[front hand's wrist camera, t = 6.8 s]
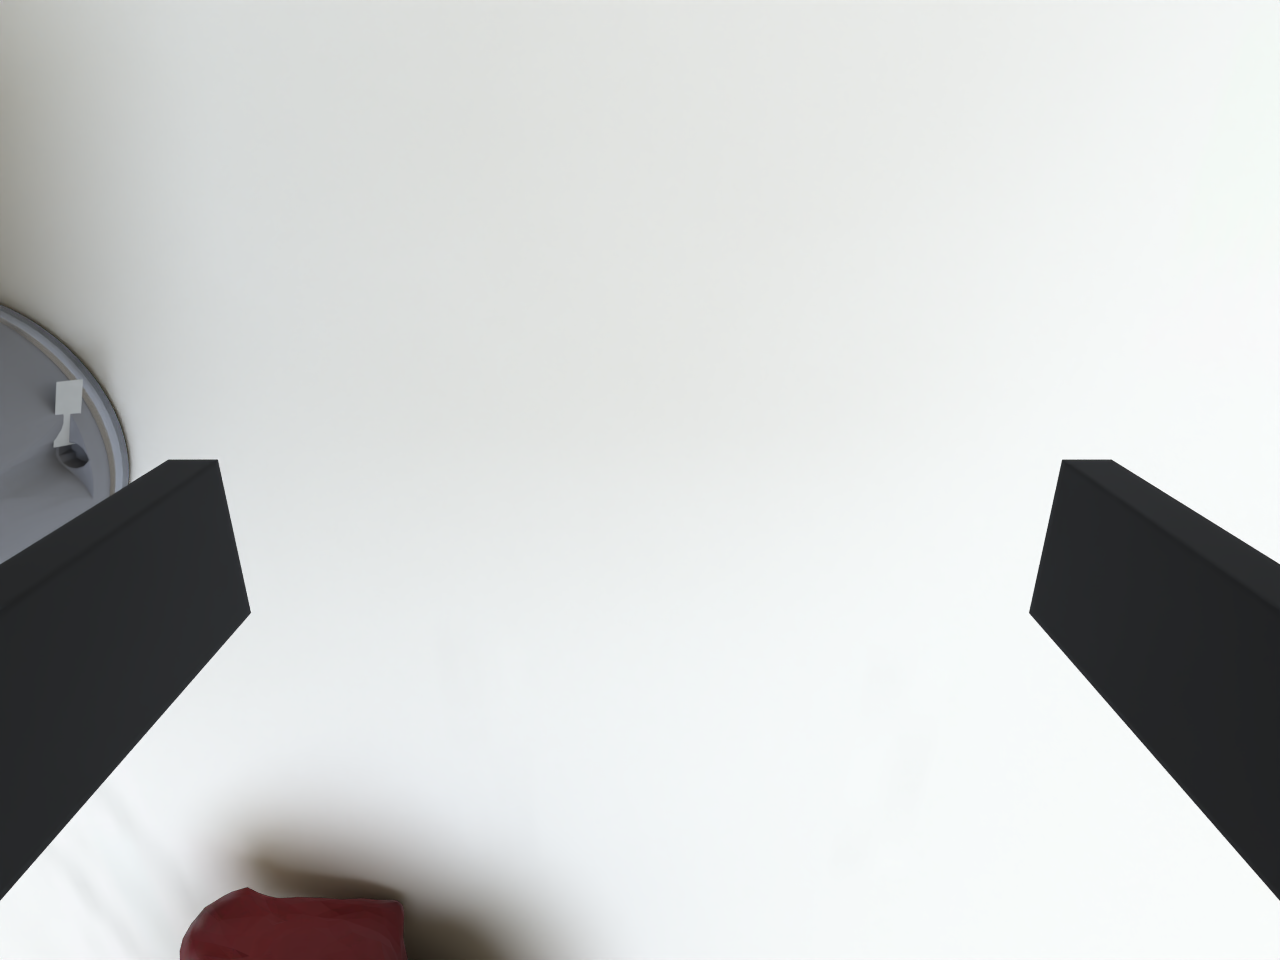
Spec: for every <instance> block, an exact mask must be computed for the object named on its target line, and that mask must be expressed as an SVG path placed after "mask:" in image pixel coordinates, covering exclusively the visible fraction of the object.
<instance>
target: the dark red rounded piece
mask: <svg viewBox="0 0 1280 960" xmlns="http://www.w3.org/2000/svg"><path fill="white" fill-rule="evenodd" d="M403 934H404V908H403V905H402V904H401V903H400V902H398V901H396V900H375V899H364V898H358V899H331V898H312V897H292V898H275V897H269V896H266V895H263V894H260V893H258V892H256V891H254V890H252V889H250V888H248V887H247V888H243V889H240V890H237V891H233V892H231V893H229V894H227V895H225V896H223V897H221V898H220V899H218V900H216V901H215V902H213V903H212V904H210V905H208V906H207V907H205V908H204V909H203V910H202V912H201V913H200V914H199V915H198V916H197V918H196V919H195V920H194V921H193V922H192V924H191V925H190V927H189V929H188V931H187V932H186V934H185V936H184V938H183V940H182V944H181V948H180V960H408V958H407V953H406V949H405V944H404V940H403Z"/></svg>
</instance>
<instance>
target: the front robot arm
mask: <svg viewBox="0 0 1280 960" xmlns="http://www.w3.org/2000/svg"><path fill="white" fill-rule="evenodd" d="M128 481H129V462H128V452H127V448H126V443H125V438H124V435H123V432H122V429H121V425H120V423H119V421H118V418H117V416H116V413H115V411H114V409H113V407H112V405H111V403H110V401H109V399H108V398H107V396H106V394H105V393H104V391H103V390H102V388H101V386H100V385H99V383H98V382H97V381H96V379H95V378H94V377H93V375H92V374H91V373H90V371H89V370H88V369H87V368H86V367H85V366H84V364H83V363H82V362H81V361H80V360H79V359H78V358H77V357H76V356H75V355H74V354H73V353H72V352H71V351H70V350H69V349H68V348H67V347H66V346H65V345H64V344H62V343H61V342H60V341H59V340H58V339H57V338H55V337H54V336H53V335H52V334H50V333H49V332H48V331H46V330H45V329H43V328H42V327H41V326H39V325H38V324H36V323H34V322H33V321H31V320H30V319H28V318H26V317H25V316H23V315H21V314H19V313H17V312H15V311H13V310H11V309H9V308H7V307H5V306H3V305H0V900H1V899H2V898H3V897H4V896H5V894H6V893H7V892H8V891H9V890H10V889H11V888H12V886H13V885H14V884H15V883H16V882H17V881H18V880H19V878H20V877H21V876H22V875H23V874H24V873H25V872H26V870H27V869H28V868H29V867H30V866H31V865H32V863H33V862H34V861H35V860H36V859H37V858H38V857H39V855H40V854H41V853H42V852H43V851H44V850H45V849H46V847H47V846H48V845H49V844H50V843H51V842H52V841H53V839H54V838H55V837H56V836H57V835H58V834H59V833H60V831H61V830H62V829H63V828H64V827H65V826H66V824H67V823H68V822H69V821H70V820H71V819H72V818H73V816H74V815H75V814H76V813H77V812H78V811H79V810H80V808H81V807H82V806H83V805H84V804H85V803H86V802H87V800H88V799H89V798H90V797H91V796H92V795H93V794H94V792H95V791H96V790H97V789H98V788H99V787H100V785H101V784H102V783H103V782H104V781H105V780H106V779H107V777H108V776H109V775H110V774H111V773H112V772H113V771H114V769H115V768H116V767H117V766H118V765H119V764H120V763H121V761H122V760H123V759H124V758H125V757H126V756H127V754H128V753H129V752H130V751H131V750H132V749H133V748H134V746H135V745H136V744H137V743H138V742H139V741H140V740H141V738H142V737H143V736H144V735H145V734H146V733H147V732H148V730H149V729H150V728H151V727H152V726H153V725H154V724H155V722H156V721H157V720H158V719H159V718H160V717H161V715H162V714H163V713H164V712H165V711H166V710H167V709H168V707H169V706H170V705H171V704H172V703H173V702H174V701H175V699H176V698H177V697H178V696H179V695H180V694H181V693H182V691H183V690H184V689H185V688H186V687H187V686H188V684H189V683H190V682H191V681H192V680H193V679H194V678H195V676H196V675H197V674H198V673H199V672H200V671H201V670H202V668H203V667H204V666H205V665H206V664H207V663H208V662H209V660H210V659H211V658H212V657H213V656H214V655H215V654H216V652H217V651H218V650H219V649H220V648H221V647H222V645H223V644H224V643H225V642H226V641H227V640H228V639H229V637H230V636H231V635H232V634H233V633H234V632H235V631H236V629H237V628H238V627H239V626H240V625H241V624H242V623H243V621H244V620H245V619H246V618H247V617H248V616H249V615H250V613H251V611H250V606H249V602H248V597H247V593H246V588H245V583H244V579H243V574H242V569H241V565H240V560H239V556H238V551H237V546H236V542H235V537H234V532H233V528H232V523H231V519H230V514H229V509H228V505H227V500H226V495H225V491H224V486H223V482H222V477H221V472H220V468H219V463H218V460H167V461H166V462H164V463H162V464H161V465H159V466H158V467H156V468H154V469H153V470H151V471H149V472H148V473H146V474H145V475H143V476H141V477H140V478H138V479H137V480H135V481H133V482H132V483H130V484H129V485H128ZM1029 613H1030V615H1031V616H1032V617H1033V618H1034V619H1035V620H1036V621H1037V623H1038V624H1039V625H1040V626H1041V627H1042V628H1043V629H1044V631H1045V632H1046V633H1047V634H1048V635H1049V636H1050V637H1051V639H1052V640H1053V641H1054V642H1055V643H1056V644H1057V645H1058V647H1059V648H1060V649H1061V650H1062V651H1063V652H1064V654H1065V655H1066V656H1067V657H1068V658H1069V659H1070V660H1071V662H1072V663H1073V664H1074V665H1075V666H1076V667H1077V668H1078V670H1079V671H1080V672H1081V673H1082V674H1083V675H1084V676H1085V678H1086V679H1087V680H1088V681H1089V682H1090V683H1091V684H1092V686H1093V687H1094V688H1095V689H1096V690H1097V691H1098V693H1099V694H1100V695H1101V696H1102V697H1103V698H1104V699H1105V701H1106V702H1107V703H1108V704H1109V705H1110V706H1111V707H1112V709H1113V710H1114V711H1115V712H1116V713H1117V714H1118V715H1119V717H1120V718H1121V719H1122V720H1123V721H1124V722H1125V724H1126V725H1127V726H1128V727H1129V728H1130V729H1131V730H1132V732H1133V733H1134V734H1135V735H1136V736H1137V737H1138V738H1139V740H1140V741H1141V742H1142V743H1143V744H1144V745H1145V746H1146V748H1147V749H1148V750H1149V751H1150V752H1151V753H1152V754H1153V756H1154V757H1155V758H1156V759H1157V760H1158V761H1159V763H1160V764H1161V765H1162V766H1163V767H1164V768H1165V769H1166V771H1167V772H1168V773H1169V774H1170V775H1171V776H1172V777H1173V779H1174V780H1175V781H1176V782H1177V783H1178V784H1179V785H1180V787H1181V788H1182V789H1183V790H1184V791H1185V792H1186V794H1187V795H1188V796H1189V797H1190V798H1191V799H1192V800H1193V802H1194V803H1195V804H1196V805H1197V806H1198V807H1199V808H1200V810H1201V811H1202V812H1203V813H1204V814H1205V815H1206V816H1207V818H1208V819H1209V820H1210V821H1211V822H1212V823H1213V824H1214V826H1215V827H1216V828H1217V829H1218V830H1219V831H1220V833H1221V834H1222V835H1223V836H1224V837H1225V838H1226V839H1227V841H1228V842H1229V843H1230V844H1231V845H1232V846H1233V847H1234V849H1235V850H1236V851H1237V852H1238V853H1239V854H1240V855H1241V857H1242V858H1243V859H1244V860H1245V861H1246V862H1247V863H1248V865H1249V866H1250V867H1251V868H1252V869H1253V870H1254V872H1255V873H1256V874H1257V875H1258V876H1259V877H1260V878H1261V880H1262V881H1263V882H1264V883H1265V884H1266V885H1267V886H1268V888H1269V889H1270V890H1271V891H1272V892H1273V893H1274V894H1275V896H1276V897H1277V898H1278V899H1279V900H1280V564H1278V563H1277V562H1275V561H1274V560H1272V559H1270V558H1269V557H1267V556H1266V555H1264V554H1262V553H1261V552H1259V551H1258V550H1256V549H1254V548H1253V547H1251V546H1250V545H1248V544H1246V543H1245V542H1243V541H1241V540H1240V539H1238V538H1237V537H1235V536H1233V535H1232V534H1230V533H1229V532H1227V531H1225V530H1224V529H1222V528H1221V527H1219V526H1217V525H1216V524H1214V523H1213V522H1211V521H1209V520H1208V519H1206V518H1204V517H1203V516H1201V515H1200V514H1198V513H1196V512H1195V511H1193V510H1192V509H1190V508H1188V507H1187V506H1185V505H1184V504H1182V503H1180V502H1179V501H1177V500H1176V499H1174V498H1172V497H1171V496H1169V495H1167V494H1166V493H1164V492H1163V491H1161V490H1159V489H1158V488H1156V487H1155V486H1153V485H1151V484H1150V483H1148V482H1147V481H1145V480H1143V479H1142V478H1140V477H1139V476H1137V475H1135V474H1134V473H1132V472H1131V471H1129V470H1127V469H1126V468H1124V467H1122V466H1121V465H1119V464H1118V463H1116V462H1114V461H1113V460H1062V463H1061V468H1060V472H1059V477H1058V482H1057V486H1056V491H1055V495H1054V500H1053V505H1052V509H1051V514H1050V519H1049V523H1048V528H1047V532H1046V537H1045V542H1044V546H1043V551H1042V556H1041V560H1040V565H1039V569H1038V574H1037V579H1036V583H1035V588H1034V593H1033V597H1032V602H1031V606H1030V611H1029Z"/></svg>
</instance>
